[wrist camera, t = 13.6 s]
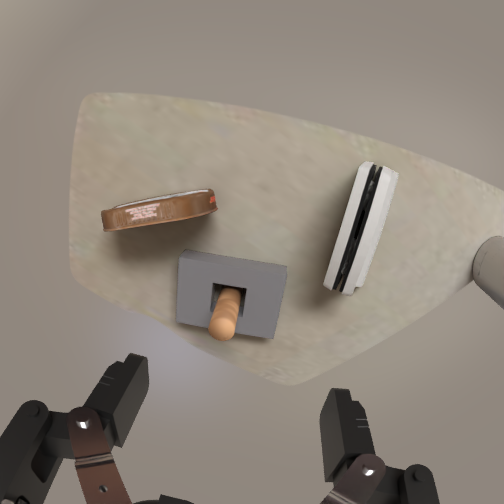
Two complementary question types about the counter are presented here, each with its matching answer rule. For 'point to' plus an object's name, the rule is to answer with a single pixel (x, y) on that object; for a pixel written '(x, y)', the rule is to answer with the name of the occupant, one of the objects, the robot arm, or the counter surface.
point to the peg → (225, 313)
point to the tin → (159, 210)
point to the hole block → (233, 274)
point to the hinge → (361, 250)
